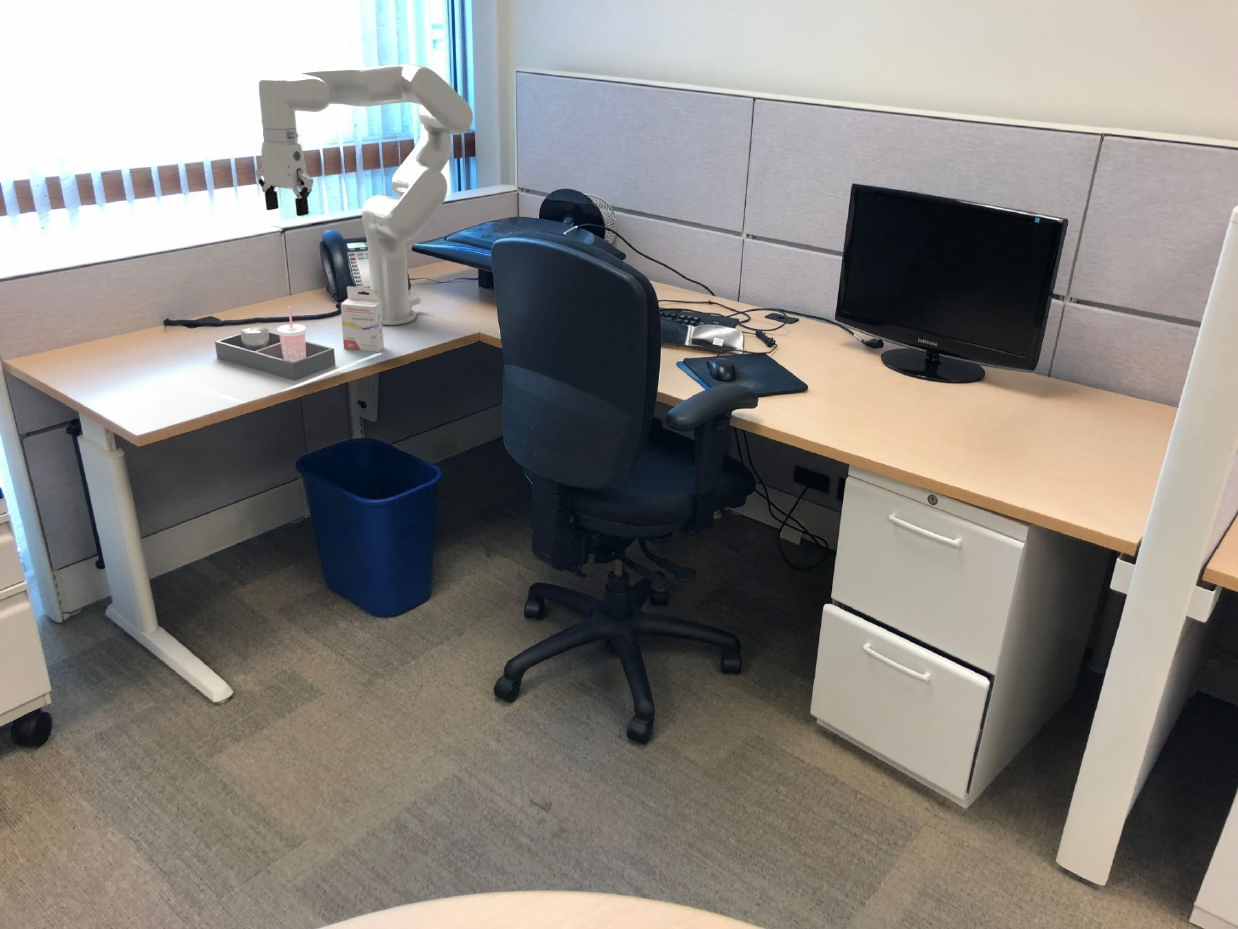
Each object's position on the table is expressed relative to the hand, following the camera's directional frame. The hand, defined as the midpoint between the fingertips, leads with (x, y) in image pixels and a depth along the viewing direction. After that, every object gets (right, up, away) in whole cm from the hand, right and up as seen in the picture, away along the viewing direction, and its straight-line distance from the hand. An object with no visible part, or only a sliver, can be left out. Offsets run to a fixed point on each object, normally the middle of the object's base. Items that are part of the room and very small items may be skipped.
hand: (287, 212), depth 233 cm
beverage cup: (+4, -37, -7) cm, 38 cm away
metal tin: (-6, -34, -2) cm, 34 cm away
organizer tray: (-1, -36, -5) cm, 36 cm away
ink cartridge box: (+16, -31, +7) cm, 36 cm away
